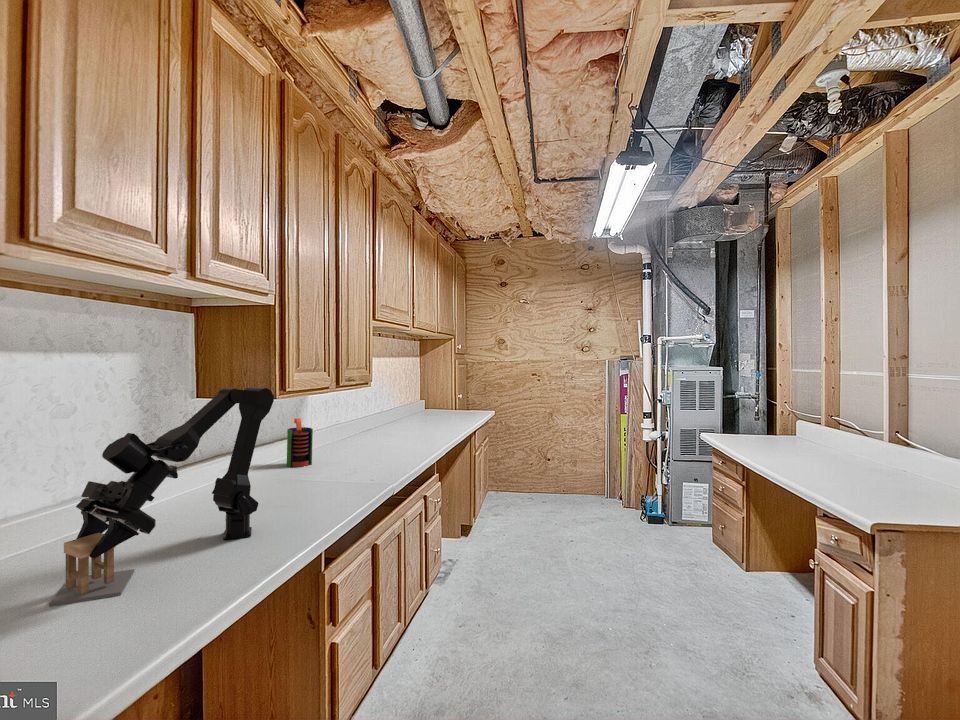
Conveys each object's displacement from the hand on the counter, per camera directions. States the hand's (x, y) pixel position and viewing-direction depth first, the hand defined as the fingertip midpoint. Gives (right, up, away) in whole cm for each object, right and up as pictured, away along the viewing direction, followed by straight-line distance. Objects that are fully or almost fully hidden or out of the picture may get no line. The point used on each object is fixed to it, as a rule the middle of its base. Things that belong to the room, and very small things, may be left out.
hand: (82, 554), depth 94 cm
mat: (0, -8, +3) cm, 8 cm away
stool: (+1, -7, +1) cm, 7 cm away
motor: (0, -7, +112) cm, 112 cm away
